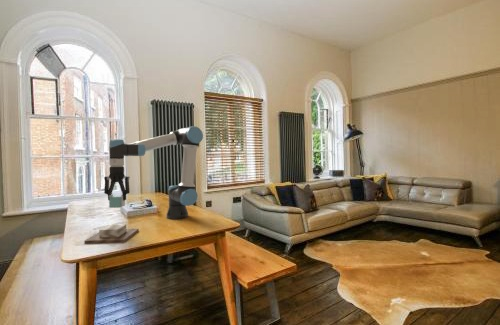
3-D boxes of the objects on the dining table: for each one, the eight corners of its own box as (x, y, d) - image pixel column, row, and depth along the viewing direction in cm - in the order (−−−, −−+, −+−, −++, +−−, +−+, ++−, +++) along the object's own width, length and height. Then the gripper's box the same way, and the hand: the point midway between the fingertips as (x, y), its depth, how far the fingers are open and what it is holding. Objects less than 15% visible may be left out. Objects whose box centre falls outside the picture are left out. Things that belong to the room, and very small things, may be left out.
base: (138, 231, 157) (138, 221, 157) (124, 242, 137) (123, 232, 137) (103, 231, 156) (103, 222, 156) (84, 243, 136) (84, 232, 136)
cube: (124, 205, 157) (124, 195, 157) (120, 207, 151) (119, 197, 151) (114, 205, 157) (114, 195, 157) (109, 207, 151) (109, 197, 151)
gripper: (96, 166, 149) (97, 207, 150) (130, 166, 150) (130, 207, 150) (103, 165, 157) (104, 204, 158) (136, 166, 157) (136, 204, 158)
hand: (117, 205), depth 154 cm, fingers closed on cube, 6 cm apart
